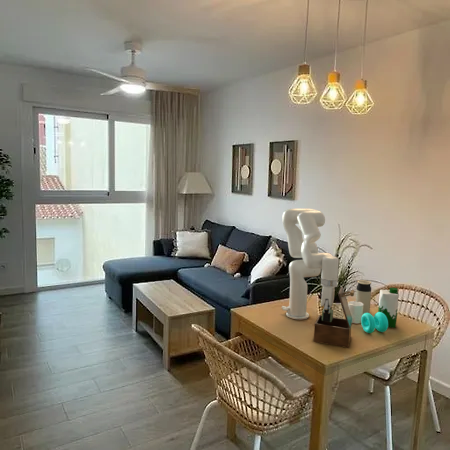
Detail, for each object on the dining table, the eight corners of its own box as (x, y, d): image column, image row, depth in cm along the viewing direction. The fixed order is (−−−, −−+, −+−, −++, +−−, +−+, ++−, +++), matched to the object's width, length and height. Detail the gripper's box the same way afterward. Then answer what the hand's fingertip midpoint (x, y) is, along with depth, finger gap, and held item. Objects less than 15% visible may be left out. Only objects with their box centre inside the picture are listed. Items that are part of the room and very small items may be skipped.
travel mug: (368, 315, 219) (370, 284, 216) (353, 312, 222) (355, 282, 220) (370, 311, 225) (372, 281, 223) (356, 308, 229) (358, 279, 227)
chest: (313, 341, 183) (314, 323, 182) (318, 331, 195) (319, 314, 194) (348, 347, 177) (349, 329, 176) (350, 337, 189) (351, 319, 188)
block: (321, 320, 185) (322, 311, 184) (323, 317, 189) (323, 308, 188) (331, 322, 183) (331, 312, 182) (332, 318, 187) (333, 309, 186)
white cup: (344, 318, 213) (345, 301, 212) (358, 318, 214) (359, 301, 212) (350, 324, 205) (351, 306, 204) (364, 324, 206) (366, 305, 205)
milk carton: (397, 328, 200) (400, 291, 197) (379, 327, 202) (381, 290, 199) (393, 322, 209) (396, 286, 206) (376, 321, 210) (378, 285, 208)
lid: (338, 294, 176) (351, 291, 174) (341, 286, 188) (353, 284, 185) (348, 328, 176) (362, 326, 174) (350, 319, 188) (363, 317, 185)
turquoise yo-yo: (388, 335, 192) (390, 316, 190) (370, 336, 190) (371, 317, 188) (376, 327, 202) (378, 309, 200) (359, 328, 199) (360, 310, 198)
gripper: (323, 277, 193) (321, 312, 195) (318, 285, 177) (316, 324, 179) (339, 278, 190) (337, 314, 192) (335, 287, 174) (333, 326, 177)
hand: (327, 318), depth 186 cm, fingers closed on block, 4 cm apart
